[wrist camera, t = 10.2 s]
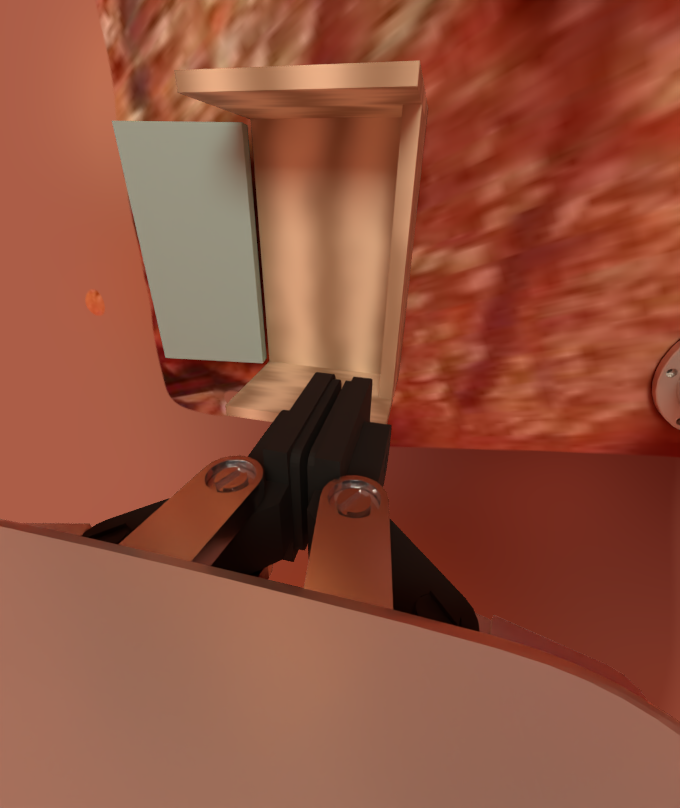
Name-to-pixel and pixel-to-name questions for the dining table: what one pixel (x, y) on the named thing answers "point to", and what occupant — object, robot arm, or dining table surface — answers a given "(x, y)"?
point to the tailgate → (197, 235)
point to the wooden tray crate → (328, 218)
